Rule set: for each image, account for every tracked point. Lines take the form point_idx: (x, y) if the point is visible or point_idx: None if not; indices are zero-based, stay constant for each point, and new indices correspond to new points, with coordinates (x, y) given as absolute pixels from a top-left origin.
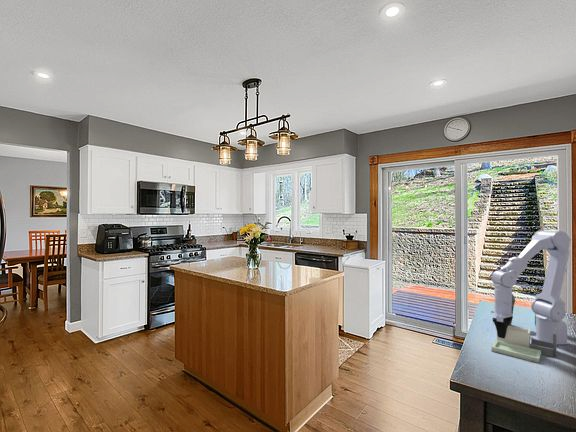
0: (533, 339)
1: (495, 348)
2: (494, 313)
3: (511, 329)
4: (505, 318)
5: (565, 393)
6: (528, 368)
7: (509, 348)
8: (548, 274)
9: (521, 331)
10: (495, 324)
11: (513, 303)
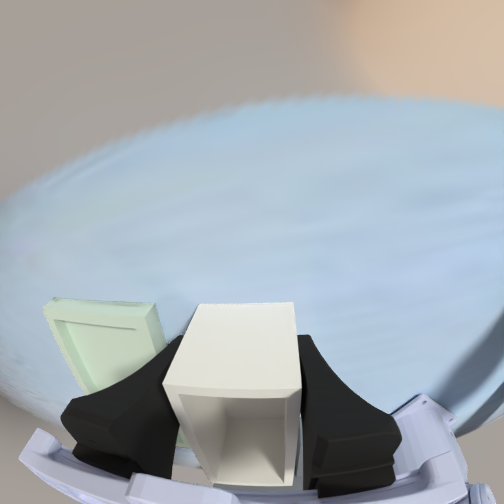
0: (300, 447)
1: (49, 320)
2: (111, 485)
3: (196, 445)
4: (306, 473)
5: (36, 414)
6: (54, 388)
7: (133, 365)
8: None
9: (209, 470)
10: (103, 394)
11: None
